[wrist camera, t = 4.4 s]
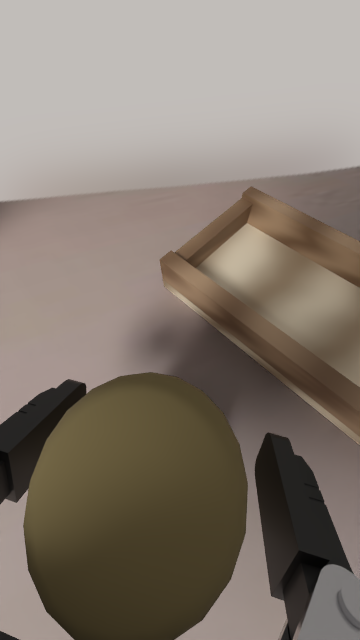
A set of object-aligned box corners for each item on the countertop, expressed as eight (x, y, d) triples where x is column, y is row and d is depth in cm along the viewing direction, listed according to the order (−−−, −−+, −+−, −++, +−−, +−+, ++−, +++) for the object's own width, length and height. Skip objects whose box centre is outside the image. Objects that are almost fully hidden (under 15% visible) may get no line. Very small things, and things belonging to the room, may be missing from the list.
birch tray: (164, 286, 19) (159, 259, 16) (242, 219, 23) (251, 186, 19) (522, 577, 11) (657, 639, 8) (561, 403, 14) (667, 397, 11)
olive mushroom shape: (181, 378, 16) (172, 301, 6) (236, 459, 14) (373, 557, 4) (106, 430, 14) (-70, 445, 4) (153, 530, 12) (6, 1002, 2)
